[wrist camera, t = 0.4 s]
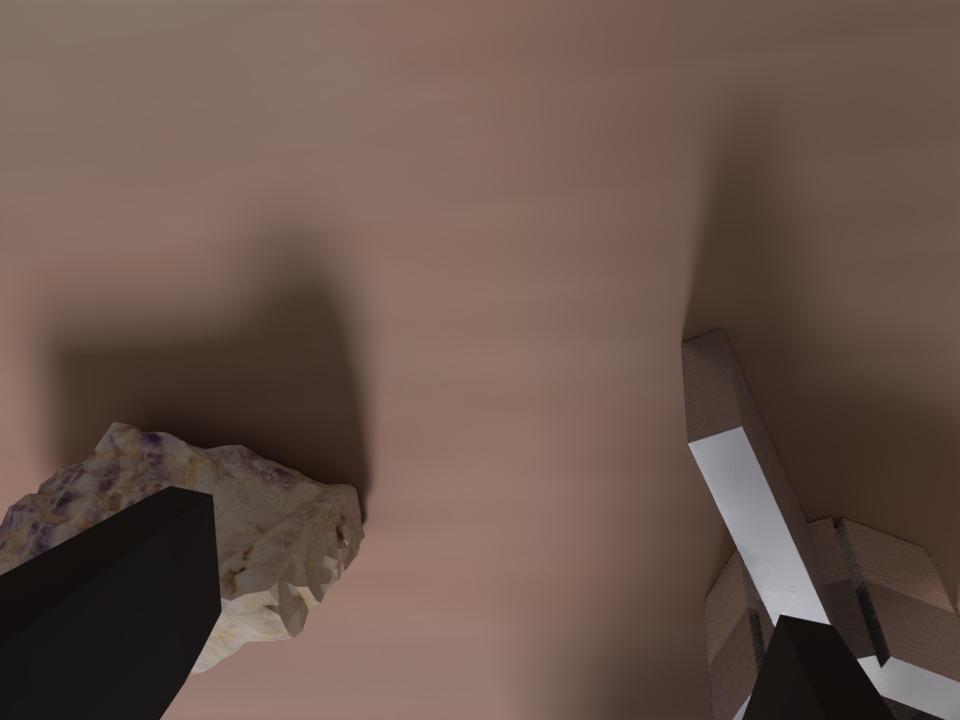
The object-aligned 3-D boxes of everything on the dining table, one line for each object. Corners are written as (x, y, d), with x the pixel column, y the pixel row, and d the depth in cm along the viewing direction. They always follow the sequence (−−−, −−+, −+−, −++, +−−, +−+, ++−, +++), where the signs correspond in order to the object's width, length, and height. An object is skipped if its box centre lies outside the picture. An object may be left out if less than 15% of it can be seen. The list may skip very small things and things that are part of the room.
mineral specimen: (242, 308, 20) (89, 427, 15) (421, 499, 22) (341, 672, 16) (6, 519, 26) (-172, 664, 20) (162, 661, 27) (37, 832, 22)
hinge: (1030, 815, 22) (1112, 996, 18) (821, 839, 24) (853, 1007, 20) (830, 287, 17) (884, 380, 13) (587, 377, 19) (568, 482, 15)
